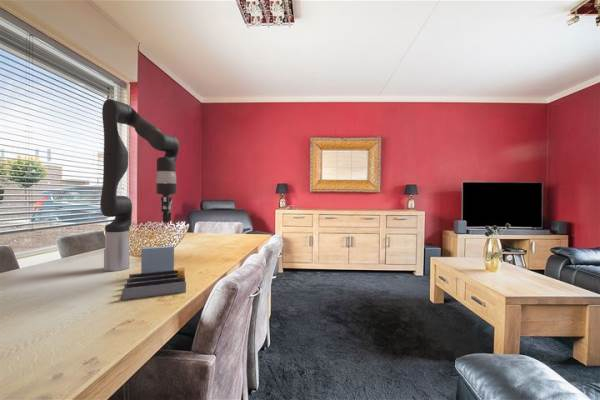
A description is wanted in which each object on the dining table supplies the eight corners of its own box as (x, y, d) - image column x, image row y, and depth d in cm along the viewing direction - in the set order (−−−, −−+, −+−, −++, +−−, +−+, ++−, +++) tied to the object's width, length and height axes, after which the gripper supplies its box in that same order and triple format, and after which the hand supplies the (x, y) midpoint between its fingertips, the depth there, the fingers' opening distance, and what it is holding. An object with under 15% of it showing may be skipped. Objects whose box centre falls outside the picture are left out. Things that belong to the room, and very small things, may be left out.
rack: (122, 300, 88) (122, 282, 88) (129, 283, 104) (129, 267, 104) (185, 292, 96) (186, 275, 96) (183, 277, 113) (183, 263, 113)
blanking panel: (141, 278, 111) (141, 249, 110) (141, 276, 113) (142, 247, 113) (173, 275, 116) (173, 246, 116) (173, 273, 119) (173, 245, 118)
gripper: (158, 183, 118) (159, 221, 118) (153, 181, 105) (154, 223, 105) (177, 183, 121) (178, 220, 121) (175, 181, 108) (175, 222, 108)
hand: (167, 221), depth 113 cm, fingers open, 8 cm apart
